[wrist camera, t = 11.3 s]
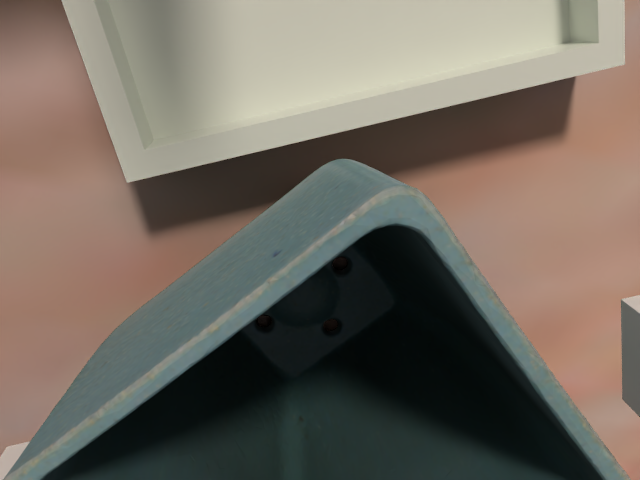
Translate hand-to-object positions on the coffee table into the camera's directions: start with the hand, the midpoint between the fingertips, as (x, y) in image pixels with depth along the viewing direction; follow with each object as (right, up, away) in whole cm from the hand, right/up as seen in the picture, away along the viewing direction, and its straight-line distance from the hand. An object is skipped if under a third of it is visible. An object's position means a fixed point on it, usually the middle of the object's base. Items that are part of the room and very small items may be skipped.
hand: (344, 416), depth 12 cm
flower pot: (-1, +2, +6) cm, 7 cm away
